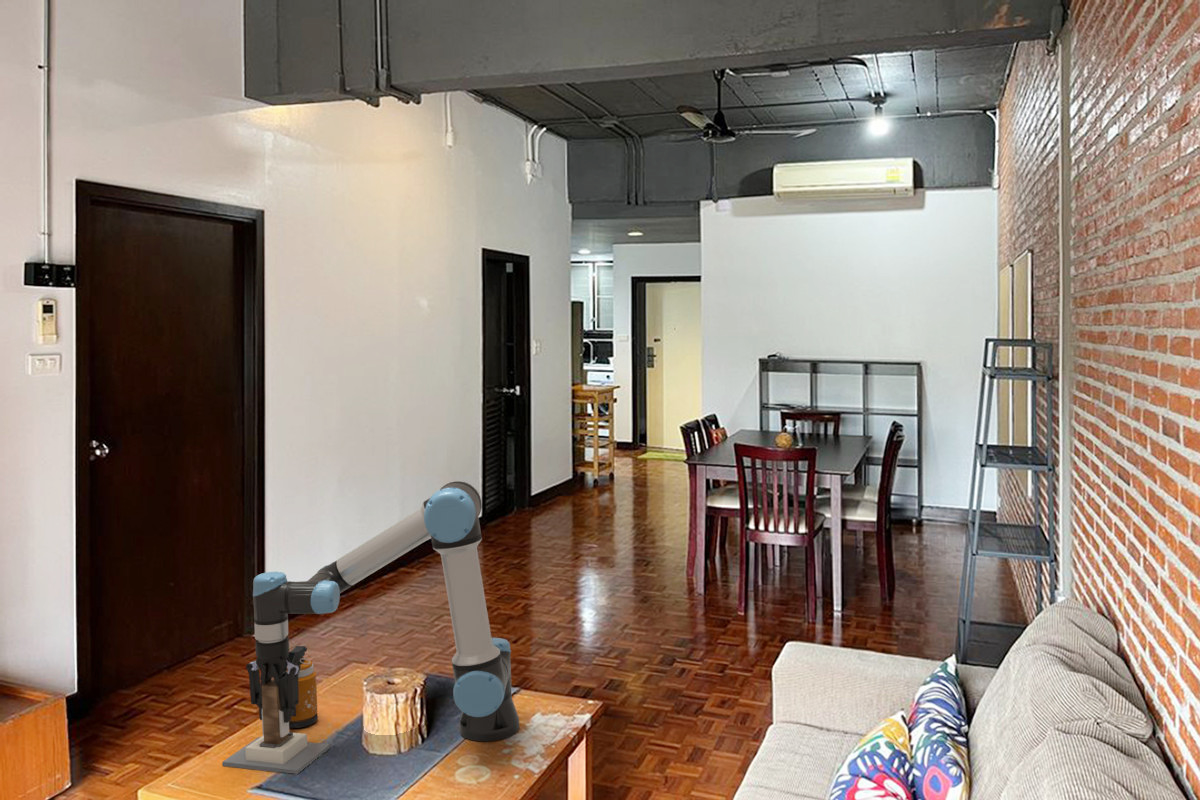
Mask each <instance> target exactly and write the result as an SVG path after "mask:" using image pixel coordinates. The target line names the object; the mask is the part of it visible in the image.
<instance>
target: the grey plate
mask: <svg viewBox="0 0 1200 800" xmlns="http://www.w3.org/2000/svg"><path fill="white" fill-rule="evenodd" d="M288 736H289V738H287V739H286V740H285V741H283V742H282V743H280V744H279V745H276V744H268V743H264V735H263V734H262V736H258V737H256V738H255V739H253V740H252V741H250V742H249V743H248V744H246V745H245V746H243V747H242V748H240V749H238V750H237V751H236V752H235V753H233V754H231V755H229V757H227V758H225V759H224V760H223V761H222V763H221V764H222V767H228V768H229V767H230V768H237V769H248V770H253V771H254V770H255V771H265V772H272V773H273V772H274V773H279V772H287V773H286V774H288V773H295V774H294V775H296V774H298V773H299V772H300V771H301V772H302V770H303V769H304V768H305V767H306V768H308V767H309V766H310V765H312V762H313V761H314V760H315V759H316V760H318V759H319V758H320V757H322V756H323V755H324V754H325V753H326V752H327V751H326V750H328V749H329V748H330V749H331V744H328V743H322V742H321V743H318V742H310V741H308V734H307V733H302V732H301V733H300V732H292V731H291V732H290V731H289V733H288ZM330 749H329V750H330ZM329 750H328V751H329ZM324 752H325V753H324ZM323 753H324V754H323ZM322 754H323V755H322ZM318 757H319V758H318ZM317 758H318V759H317ZM316 760H315V761H316ZM315 761H314V762H315ZM314 762H313V763H314ZM309 764H310V765H309ZM308 765H309V766H308ZM307 766H308V767H307ZM306 768H305V769H306ZM305 769H304V770H305ZM304 770H303V771H304ZM301 772H300V773H301ZM300 773H299V774H300ZM299 774H298V775H299Z"/></svg>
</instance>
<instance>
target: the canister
mask: <svg viewBox="0 0 1200 800" xmlns="http://www.w3.org/2000/svg"><path fill="white" fill-rule="evenodd" d="M307 651H308V647H306V646H305V645H296V646H294V648H293V649H292V650H289V653H288V657H289V660H290V663H292V664H293V665H295V666H296V665H300V667H301V668H300V671H299V674H298V695H299V703H298V704H297V705H296V706H294V707H293V708H291V721H289V728H292V729H298V728H299V729H300V728H304V727H305V728H306V727H308V726H310V725H312V724H314V723H316V721H318V720H319V719H318V718H319V717H318V715H319V713H318V695H317V694H318V690H317V672H316V671H315V670H314V663H313V662H312V660H310V659H307V658H304V656H306V652H307ZM287 672H288V668H287V670H286V673H287ZM288 675H289V674H288V673H287V684H288Z"/></svg>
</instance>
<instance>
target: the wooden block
mask: <svg viewBox="0 0 1200 800" xmlns="http://www.w3.org/2000/svg"><path fill="white" fill-rule="evenodd" d="M262 708H263V730H262V732H263V731H264V743H268V744H276V745H279V744H280V743H282V742H283V741H285V740H286V739H287V738H289V736H288V734H287V735H285V736H284V737H280V724H279V710H280V709H281V708H282V707H281V702H280V698H279V691H278V686H277V684H276V683H275V682H274V679H271V681H270V682H269V683H267V684H265V685H264V684H263V685H262Z"/></svg>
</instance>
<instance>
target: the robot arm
mask: <svg viewBox="0 0 1200 800" xmlns="http://www.w3.org/2000/svg"><path fill="white" fill-rule="evenodd" d="M482 502H483V501H482V497H481V495H480V492H478V490H477V489H476V488H475V487H474V486H473V485H472V484H470V483H468V482H466V481H461V480H460V481H459V480H458V481H456V480H455V481H451V482H448V483H446V484H445V485H442V487H440V489H439V490H437V491H436V492H435V493H433V494H432V496H430V497H429V498H428V499H426V500H424V501H423V502H422V503H421V504H422V505H421V507H420V508H419V509H418V510H416V511H414V512H413V513H412V512H411V514H410V515H407V516H406V517H404V518H402V519H401V520H399V521H398V522H396V523H394V524H392V525H391V526H390V527H388V528H386V529H384V531H382V532H380V533H378V534H377V535H375V536H374V537H372V538H371V539H368V540H367V541H365V542H363V543H362V544H361V545H359V546H357V547H356V548H354V549H352V550H351V551H349V552H348V553H346V554H345V555H343V556H341V557H339V558H338V559H337V560H335V561H333V562H331V563H330V564H327V565H325V566H323V567H322V568H320V569H319V570H317V572H316V573H315V574H314V575H313V576H311V577H310V578H309V579H307V580H303V581H289V580H288V579H287V575H286V573H284V572H282V571H267V572H263V573H260V574H258V575H256V576H255V577H254V578H253V582H252V585H253V587H252V588H253V589H252V597H253V600H252V601H253V613H254V614H253V615H254V639H255V640H256V641H255V656H256V659H255V660H253V661H251V662H249V663H247V664H246V665H245V666H246V667H245V668H246V670H247V672H248V681H249V692H250V693H249V694H250V704H251V705H253V706H254V705H256V706H257V707H258V709H259V710H258V715H259V720H260V721H261V724H262V726H261V727H262V736H263V735H264V731H263V708H262V685H263V684H264V685H265V684H267V683H269V682H270V681H271V680H274V682H275V683H276V684H277V686H278V691H279V698H280V702H281V707H282V708H281V709H280V710H279V724H280V737H284V736H285V735H287V734H288V733H289V732H290V727H289V721H291V708H293V707H294V706H296V705H297V704H298V703H299V695H298V674H299V671H300V668H301V667H300V665H296V666H295V665H293V664H292V663H290V660H289V657H288V653H289V652H290V640H289V639H290V638H289V637H288V636H289V616H288V614H289V615H291V614H292V615H293V614H294V615H296V614H297V615H298V614H299V615H300V614H301V615H302V614H303V615H304V614H307V615H310V614H313V615H315V614H317V615H323V614H331V613H335V612H336V610H337V609H338V608H339V605H340V599H341V598H340V597H341V595H340V594H341V593H343V592H344V591H346V590H348V589H350V588H351V587H352V586H355V585H356V584H357V583H359V582H360V581H363V580H364V579H365V578H367V577H368V576H370V575H372V574H374V573H375V572H377V571H378V570H380V569H382V568H383V567H385V566H387V565H388V564H390V563H392V562H394V561H395V560H397V559H398V558H400V557H402V556H403V555H405V554H406V553H408V552H409V551H411V550H413V549H415V548H416V547H418V546H420V545H422V544H423V543H425V542H426V541H429V539H430V540H431V545H432V549H433V550H434V551H436V552H437V553H438V554H440V558H441V559H440V560H441V564H442V571H443V575H444V576H443V577H444V583H445V590H446V594H447V600H448V608H449V613H450V619H451V626H452V630H453V637H454V642H455V648H456V649H455V650H456V653H455V654H454V655H453V657H452V658H451V664H452V665H451V666H452V670H453V671H452V672H453V677H454V684H453V685H454V686H453V689H452V690H453V691H452V694H453V701H454V702H455V703H454V704H455V705H456V706H457V708H458V709H459V710H460V711H461V715H460V719H459V722H458V723H459V724H458V726H459V727H458V728H459V734H460V735H461V736H462V737H463V738H465V739H467V740H470V741H475V742H495V741H501V740H504V739H507V738H509V737H512V736H514V735H515V734H516V733H517V732H518V731H519V729H520V717H519V715H518V712H517V709H516V706H515V703H514V701H513V697H512V695H513V694H512V671H511V670H512V669H511V667H512V666H511V653H512V650H511V644H510V641H508V639H505V638H500V637H492V632H491V626H490V620H489V613H488V609H487V602H486V601H487V600H486V596H485V589H484V583H483V577H482V571H481V566H480V560H479V558H480V557H479V553H478V546H479V545H480V543H481V542H482V540H483V537H482V533H481V532H482V531H481V525H480V518H479V517H480V514H481V511H482V504H483V503H482ZM287 668H288V672H287V673H288V674H289V675H288V684H287V673H286V670H287ZM272 678H273V679H272Z"/></svg>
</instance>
